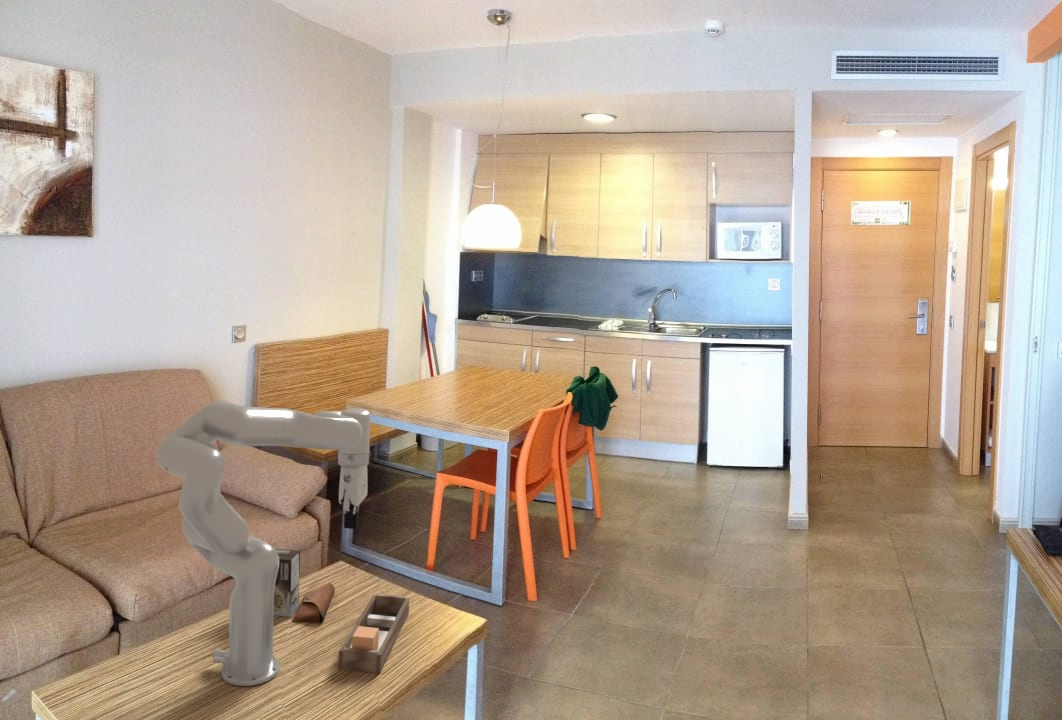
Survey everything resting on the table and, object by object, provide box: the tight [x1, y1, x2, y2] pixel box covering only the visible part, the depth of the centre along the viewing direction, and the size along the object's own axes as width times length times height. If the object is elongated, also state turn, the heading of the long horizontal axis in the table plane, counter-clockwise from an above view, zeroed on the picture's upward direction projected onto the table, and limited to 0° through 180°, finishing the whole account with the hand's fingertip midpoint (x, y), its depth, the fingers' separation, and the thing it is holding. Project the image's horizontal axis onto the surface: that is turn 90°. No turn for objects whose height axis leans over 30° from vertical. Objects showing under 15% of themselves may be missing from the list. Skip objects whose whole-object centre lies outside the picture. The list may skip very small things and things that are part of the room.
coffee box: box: [274, 548, 301, 618], centre depth 211 cm, size 9×6×16 cm
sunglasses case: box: [291, 582, 336, 625], centre depth 215 cm, size 18×7×7 cm
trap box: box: [338, 593, 410, 674], centre depth 201 cm, size 10×30×5 cm, turn 176°
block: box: [352, 626, 379, 650], centre depth 190 cm, size 5×5×5 cm
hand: (351, 527), depth 203 cm, fingers closed
